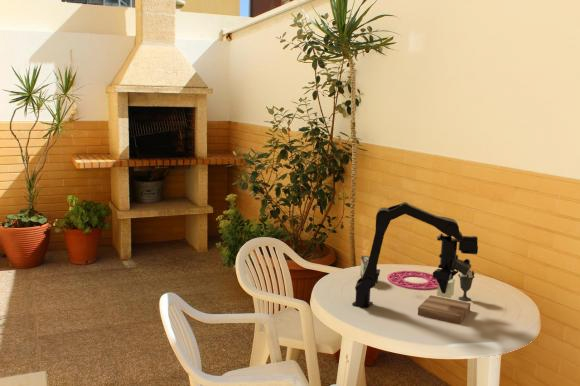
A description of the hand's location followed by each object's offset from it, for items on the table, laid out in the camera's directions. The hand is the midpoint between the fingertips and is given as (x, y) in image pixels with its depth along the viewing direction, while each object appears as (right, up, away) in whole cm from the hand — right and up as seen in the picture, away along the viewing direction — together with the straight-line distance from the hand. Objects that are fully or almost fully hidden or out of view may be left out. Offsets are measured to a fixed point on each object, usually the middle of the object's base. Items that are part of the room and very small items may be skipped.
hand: (445, 291), depth 219 cm
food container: (-25, -2, +38) cm, 46 cm away
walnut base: (0, -9, +1) cm, 9 cm away
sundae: (+13, -6, +17) cm, 22 cm away
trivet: (-3, -2, +40) cm, 40 cm away
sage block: (0, -2, 0) cm, 2 cm away
